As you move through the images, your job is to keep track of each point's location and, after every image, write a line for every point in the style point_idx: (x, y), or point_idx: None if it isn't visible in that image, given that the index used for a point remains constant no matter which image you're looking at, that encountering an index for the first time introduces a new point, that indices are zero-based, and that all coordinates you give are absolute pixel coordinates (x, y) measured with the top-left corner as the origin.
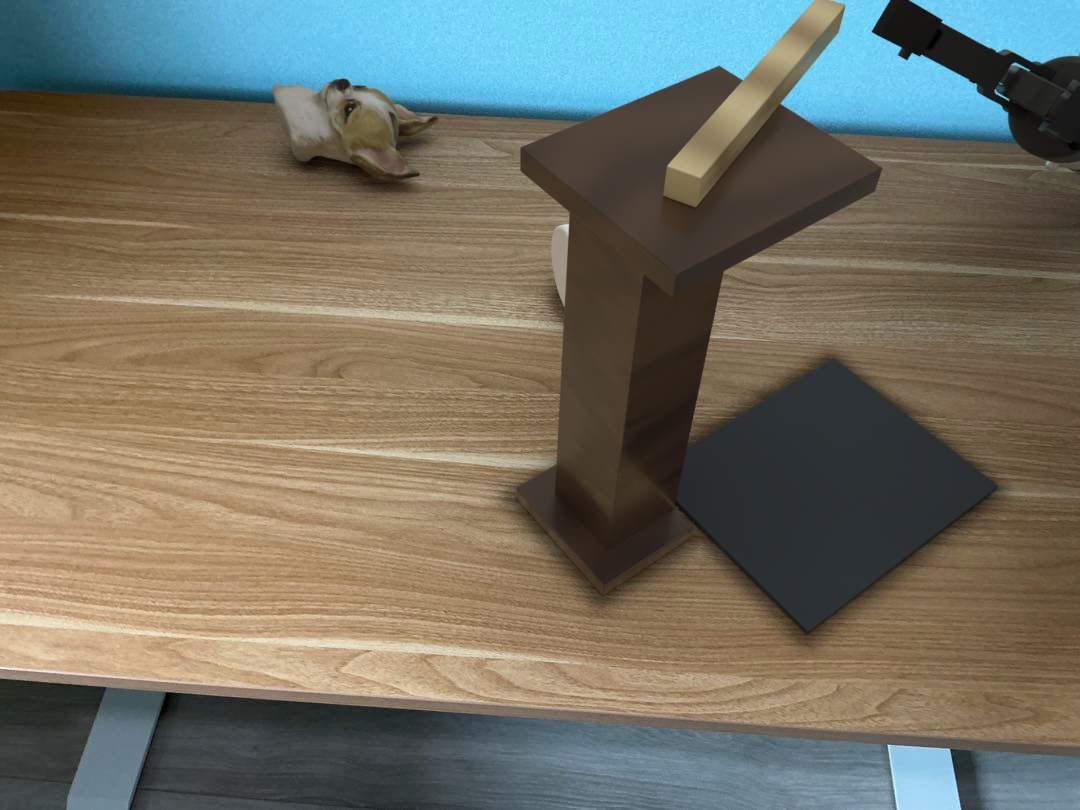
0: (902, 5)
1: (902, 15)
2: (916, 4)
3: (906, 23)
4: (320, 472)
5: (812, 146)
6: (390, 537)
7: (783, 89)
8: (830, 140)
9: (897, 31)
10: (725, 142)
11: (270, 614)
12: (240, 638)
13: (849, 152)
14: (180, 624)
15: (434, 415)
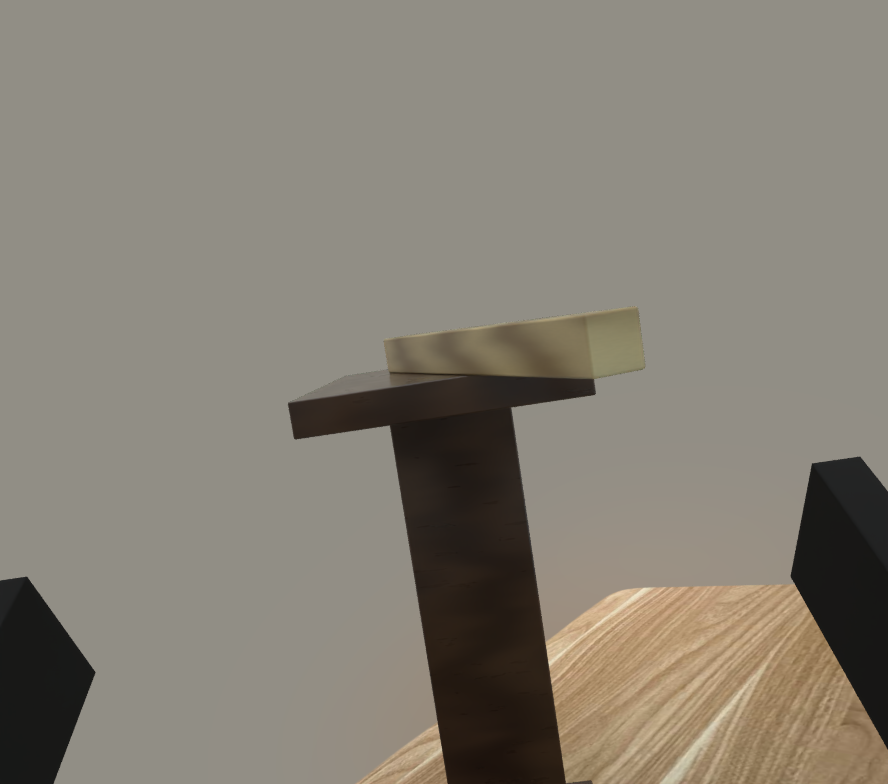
0: (822, 505)
1: (837, 559)
2: (880, 560)
3: (869, 629)
4: (704, 694)
5: (376, 386)
6: (603, 716)
7: (460, 350)
8: (368, 389)
9: (842, 627)
10: (404, 336)
11: (576, 659)
12: (568, 648)
13: (336, 394)
14: (597, 631)
15: (751, 773)
